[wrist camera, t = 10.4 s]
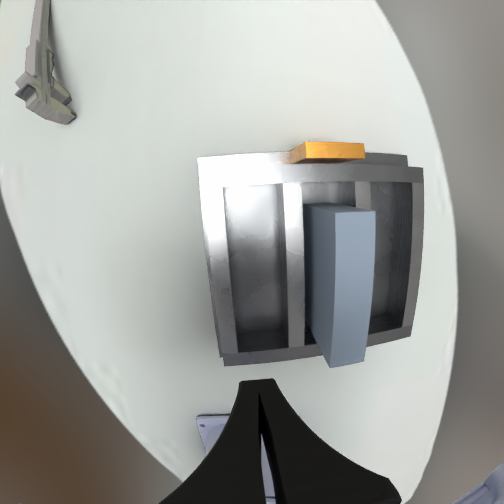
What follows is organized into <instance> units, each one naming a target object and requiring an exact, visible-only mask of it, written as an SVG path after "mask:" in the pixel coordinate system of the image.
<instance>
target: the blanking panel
mask: <svg viewBox="0 0 504 504" xmlns="http://www.w3.org/2000/svg"><path fill="white" fill-rule="evenodd" d="M302 209H303V234H304V276H305V320H306V322H307V324H308V326H309V328H310V330H311V332H312V334H313V336H314V338H315V340H316V342H317V344H318V346H319V348H320V350H321V352H322V354H323V356H324V358H325V360H326V362H327V364H328V366H329V368H334V367H339V366H344V365H349V364H354V363H358V362H363V361H364V357H365V351H366V344H367V337H368V329H369V321H370V312H371V303H372V291H373V278H374V261H375V211H372V210H367V209H362V208H357V207H352V206H347V205H342V204H337V203H309V204H302Z"/></svg>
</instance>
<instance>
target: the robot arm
mask: <svg viewBox="0 0 504 504" xmlns="http://www.w3.org/2000/svg"><path fill="white" fill-rule="evenodd" d="M196 423H197V426H198V429H199V432H200V435H201V438H202V441H203V444H204V447H205V450H206V453H205V459H204V460H203V461H202V462H201V464H200V465H199V466H198V467H197V469H196V470H195V471H194V472H193V473H192V474H191V475H190V476H189V477H188V478H187V479H186V480H185V481H184V482H183V483H182V484H181V485H180V486H179V487H178V488H177V489H176V490H175V491H173V492H172V493H171V494H170V495H168V496H167V497H166V498H165V499H164V500H162V501H161V502H160V503H159V504H400V503H401V501H402V500H401V497H400V495H399V493H398V491H397V489H396V488H395V487H394V485H393V484H392V483H391V481H390V480H389V479H388V478H386V477H383V476H381V475H378V474H376V473H374V472H372V471H370V470H367V469H365V468H363V467H362V466H360V465H358V464H356V463H354V462H352V461H351V460H349V459H348V458H346V457H345V456H343V455H342V454H340V453H339V452H337V451H336V450H334V449H333V448H332V447H330V446H329V445H328V444H327V443H325V442H324V441H323V440H322V439H321V438H319V437H318V436H317V435H316V434H315V433H314V432H313V431H312V430H311V429H310V428H309V427H308V426H307V425H306V424H305V423H304V422H303V421H302V419H301V418H300V417H299V416H298V415H297V414H296V412H295V411H294V410H293V408H292V407H291V406H290V404H289V403H288V402H287V400H286V399H285V397H284V396H283V394H282V393H281V391H280V389H279V387H278V385H277V383H276V381H275V380H274V379H273V378H271V379H260V380H248V381H241V382H240V383H239V389H238V393H237V397H236V400H235V403H234V406H233V408H232V411H231V413H230V415H228V416H199V417H197V418H196ZM451 504H504V462H503V463H502V464H500V465H499V466H498V467H497V468H496V469H495V470H494V471H493V472H491V473H490V475H489V476H488V477H487V478H486V479H485V481H483V482H482V483H481V484H479V485H478V486H477V487H475V488H474V489H472V490H471V491H470V492H468V493H467V494H465V495H464V496H462V497H461V498H459V499H458V500H456V501H454V502H453V503H451Z"/></svg>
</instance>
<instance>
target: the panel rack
mask: <svg viewBox="0 0 504 504" xmlns="http://www.w3.org/2000/svg"><path fill="white" fill-rule="evenodd" d="M198 171H199V184H200V196H201V208H202V219H203V229H204V239H205V248H206V257H207V266H208V274H209V283H210V291H211V298H212V306H213V313H214V320H215V327H216V334H217V341H218V348H219V354H220V357H223V361H224V366H235V365H248V364H259V363H269V362H278V361H286V360H294V359H301V358H308V357H315V356H321V355H323V354H322V352H321V350H320V348H319V346H318V344H317V342H316V340H315V338H314V336H313V334H312V332H311V330H310V328H309V326H308V324H307V322H306V320H305V276H304V234H303V209H302V204H309V203H337V204H342V205H347V206H352V207H357V208H362V209H367V210H372V211H375V261H374V278H373V291H372V303H371V312H370V321H369V329H368V337H367V344H366V347H368V346H373V345H377V344H382V343H386V342H390V341H394V340H398V339H402V338H406V337H409V336H411V331H412V326H413V320H414V315H415V309H416V302H417V296H418V288H419V280H420V271H421V261H422V248H423V230H424V179H423V168H420V167H408V161H407V155H395V154H382V153H365V150H364V144H363V143H342V142H304V143H303V144H301V145H299V146H298V147H296V148H295V149H293V150H291V151H290V152H266V153H248V154H234V155H222V156H211V157H201V158H198Z"/></svg>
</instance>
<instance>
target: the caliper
mask: <svg viewBox="0 0 504 504" xmlns="http://www.w3.org/2000/svg"><path fill="white" fill-rule="evenodd" d="M49 8H50V0H36V3H35V8H34V14H33V21H32V29H31V38H30V45H29V46H28V47H27V49H26V60H25V73H24V74H23V75H22V76H21V77H20V78H19V79H18V80H17V81H16V82H15V83H16V84H17V86H18V87H19V88H20V89H19V90H18V91H17V92H16V93H15V95H16V96H18V97H19V98H21V99H23V100H24V101H25V102H26V108H28V109H29V110H31V111H32V112H34V113H36V114H37V115H39V116H41V117H42V118H44V119H47V120H50V121H53V122H57V123H60V124H64V125H66V124H67V123H68V122H70V121H71V120H72V119H73V118H75V117H76V113H75V112H73V111H72V110H70V109H69V108H67V107H66V105H67V104H68V103H70V102H71V101H72V99H71V96H70V95H69V93H68V92H67V91H66V90H65V89H64V88H63V87H62V86H61V85H60V84H59V83H58V82H57V81H56V80H55V79H54V77H53V76H52V71H53V67H54V62H53V57H54V55H53V53H52V52H51V51H50V50H49V49H48V26H49Z"/></svg>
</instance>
